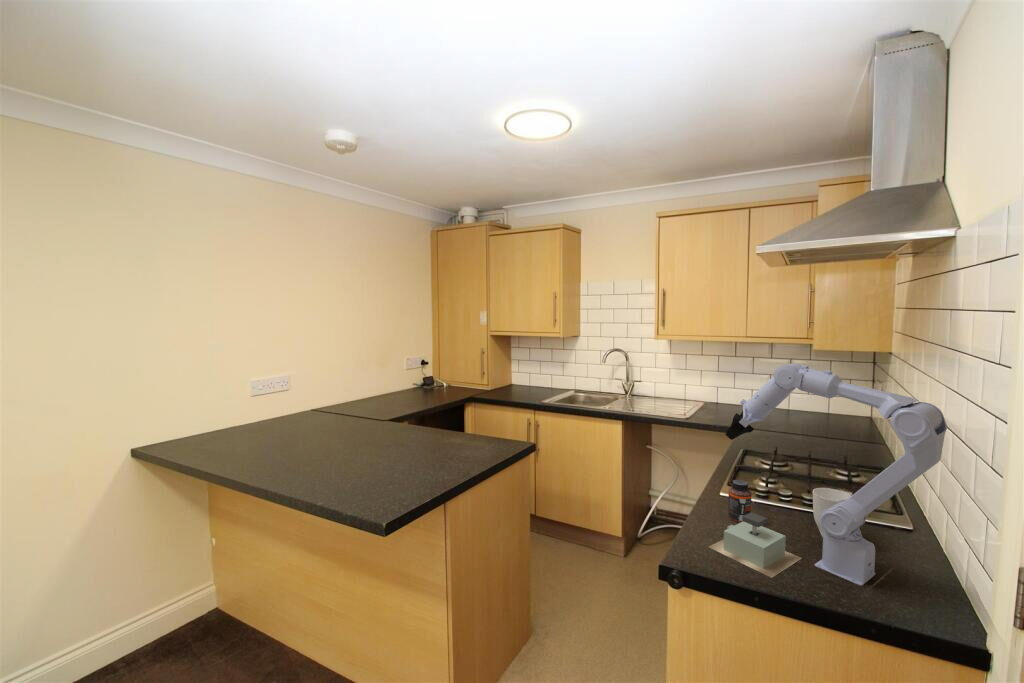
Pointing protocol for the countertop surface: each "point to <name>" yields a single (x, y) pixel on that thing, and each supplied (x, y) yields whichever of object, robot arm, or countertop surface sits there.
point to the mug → (825, 501)
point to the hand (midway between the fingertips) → (733, 431)
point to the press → (754, 544)
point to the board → (769, 570)
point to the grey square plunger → (754, 521)
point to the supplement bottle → (739, 501)
